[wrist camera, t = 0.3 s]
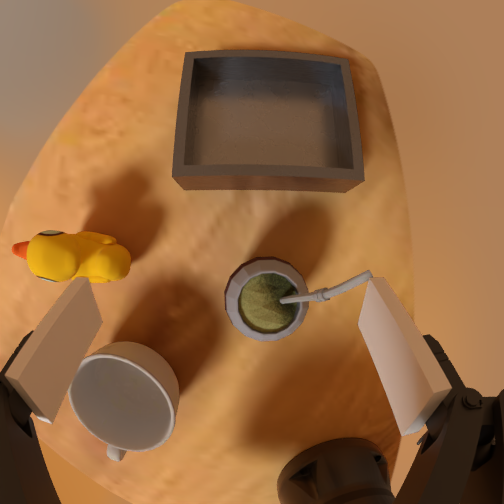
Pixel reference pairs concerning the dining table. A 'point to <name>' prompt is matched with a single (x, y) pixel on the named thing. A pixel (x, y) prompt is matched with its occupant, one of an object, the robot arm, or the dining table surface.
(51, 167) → the dining table surface
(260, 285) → the mate gourd
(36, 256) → the duckling
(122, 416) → the teacup
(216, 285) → the dining table surface
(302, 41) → the dining table surface
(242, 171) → the tray
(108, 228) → the dining table surface
